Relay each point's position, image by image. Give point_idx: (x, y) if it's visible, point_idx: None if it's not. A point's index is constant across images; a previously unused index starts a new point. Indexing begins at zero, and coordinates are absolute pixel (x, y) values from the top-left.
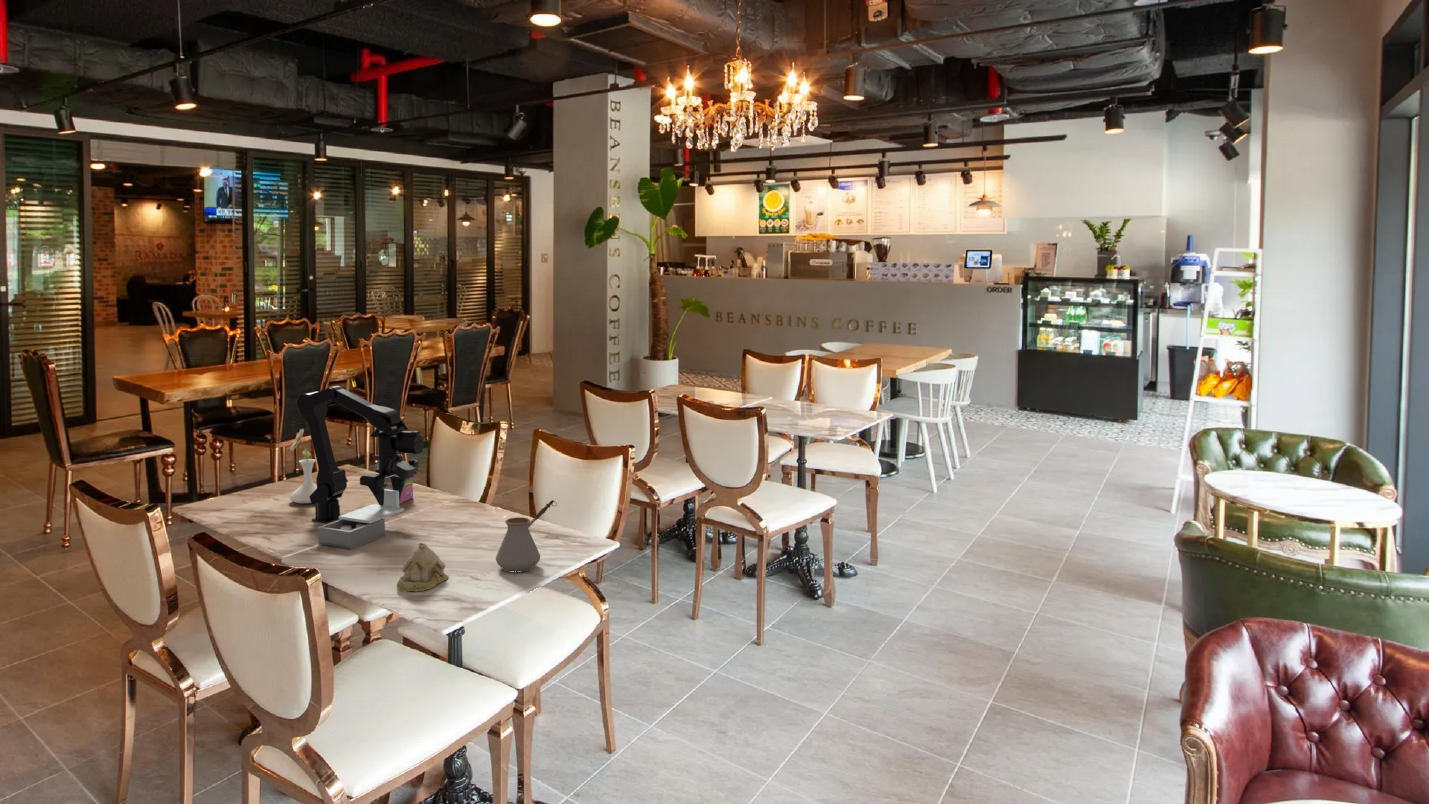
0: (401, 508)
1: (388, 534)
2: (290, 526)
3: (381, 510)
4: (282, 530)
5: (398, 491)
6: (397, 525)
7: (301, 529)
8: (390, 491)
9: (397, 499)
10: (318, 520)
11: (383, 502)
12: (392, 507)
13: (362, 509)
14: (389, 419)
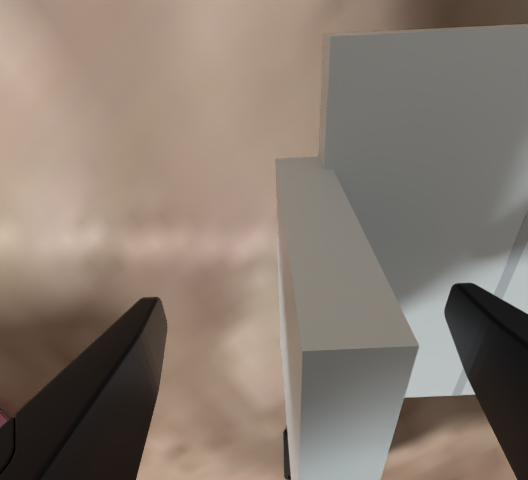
0: (367, 56)
1: (518, 12)
2: (447, 472)
3: (524, 223)
4: (501, 464)
5: (318, 335)
6: (264, 135)
7: (478, 437)
8: (387, 436)
9: (327, 224)
10: None
11: (485, 304)
12: (361, 205)
13: None
14: None
